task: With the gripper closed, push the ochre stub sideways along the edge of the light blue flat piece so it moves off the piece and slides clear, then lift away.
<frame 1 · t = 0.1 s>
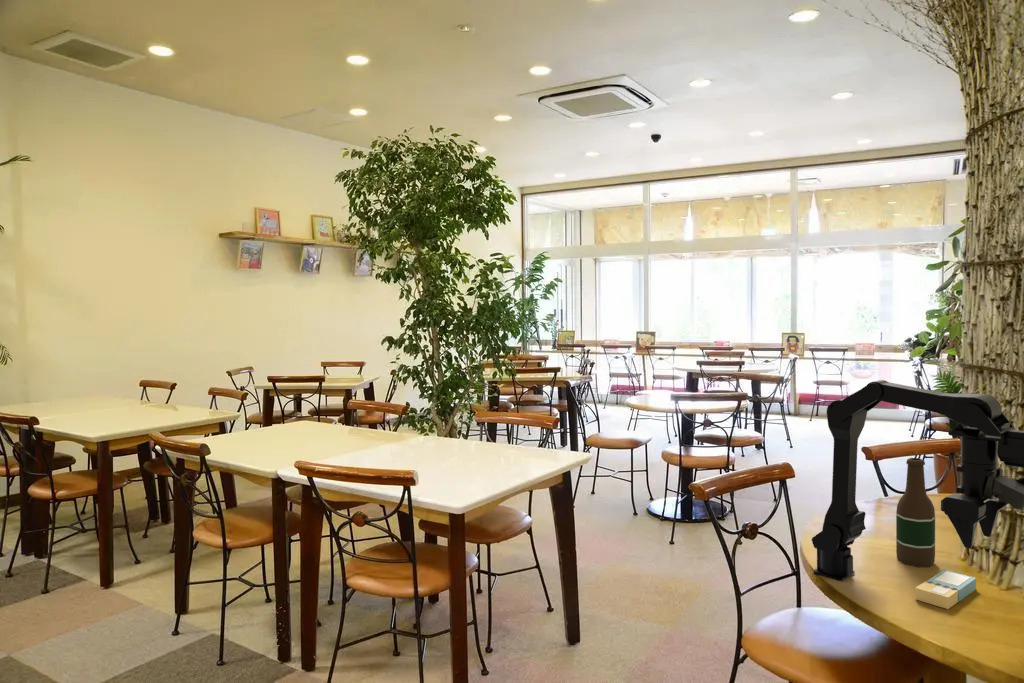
hand: (977, 541, 132), 15 cm above the table, fingers open, 9 cm apart
stub: (936, 594, 139), point 1 cm above the table, slide at 0.0 cm
beer bottle: (915, 562, 160), on the table
light blue flat piece: (951, 590, 144), on the table
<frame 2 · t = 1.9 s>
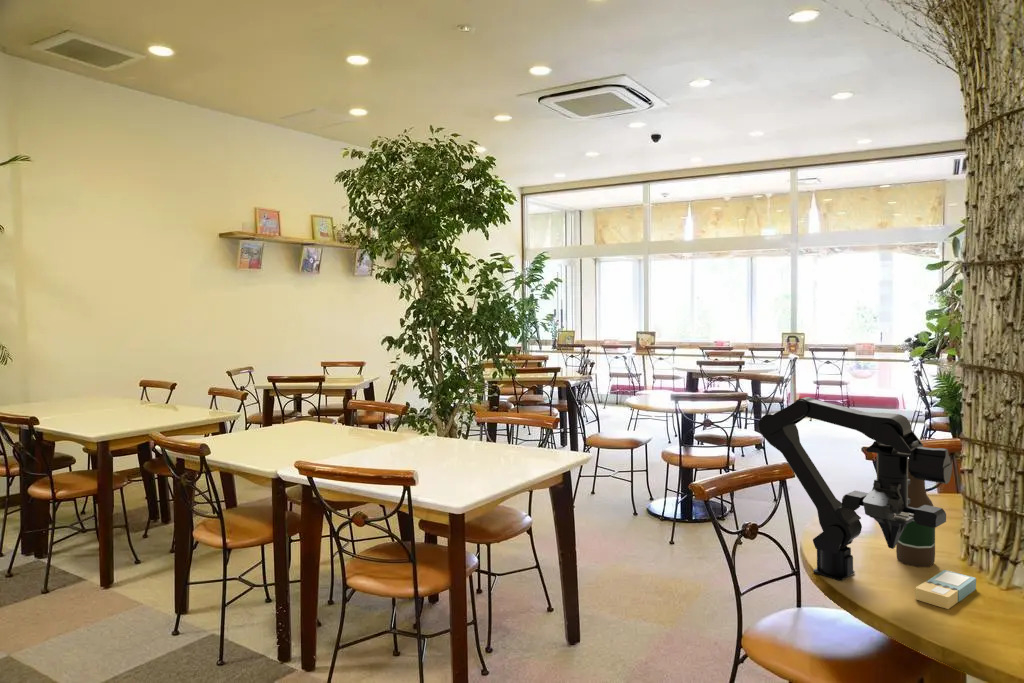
hand: (891, 548, 146), 9 cm above the table, fingers closed
nothing on the table moved.
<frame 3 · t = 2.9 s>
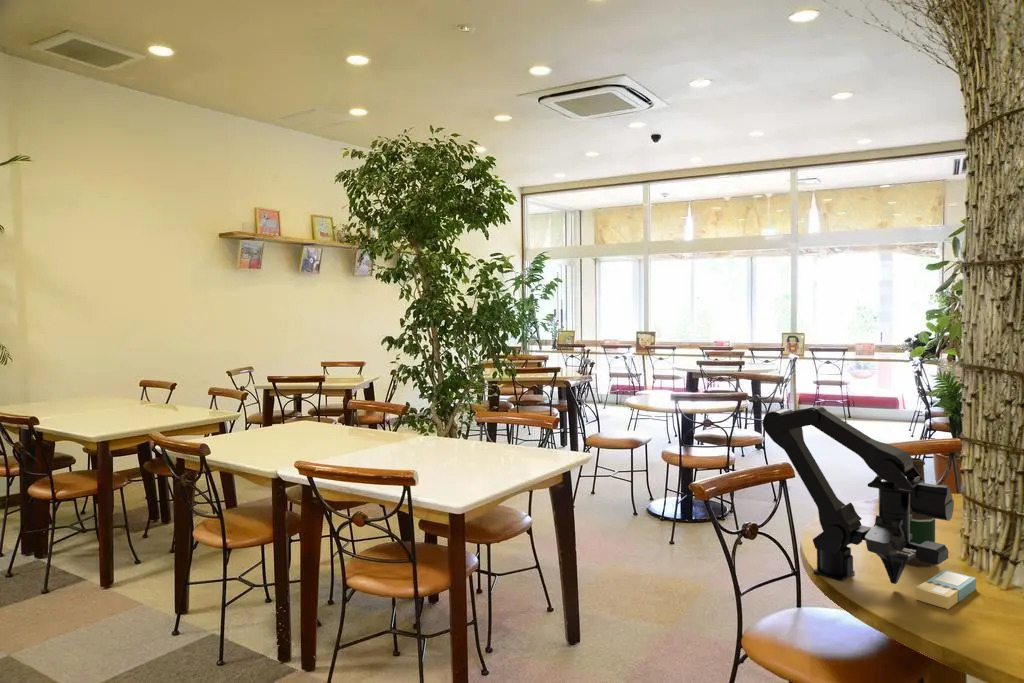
hand: (894, 583, 146), 1 cm above the table, fingers closed
nothing on the table moved.
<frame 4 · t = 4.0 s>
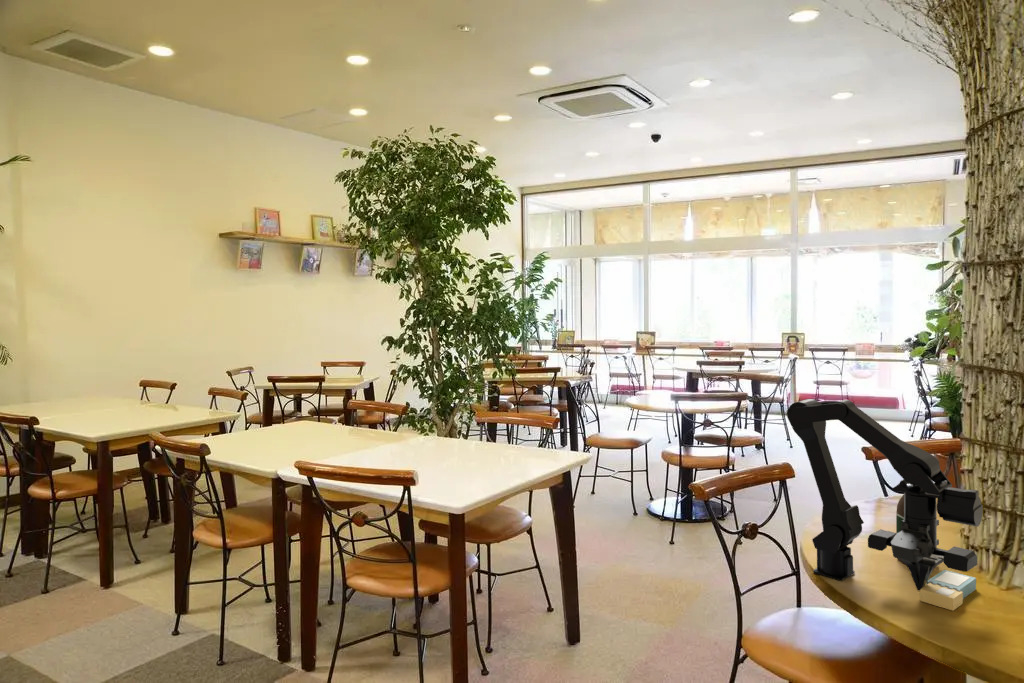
hand: (920, 590, 142), 1 cm above the table, fingers closed
stub: (941, 596, 139), point 1 cm above the table, slide at 0.9 cm, touching gripper
everything else where it was.
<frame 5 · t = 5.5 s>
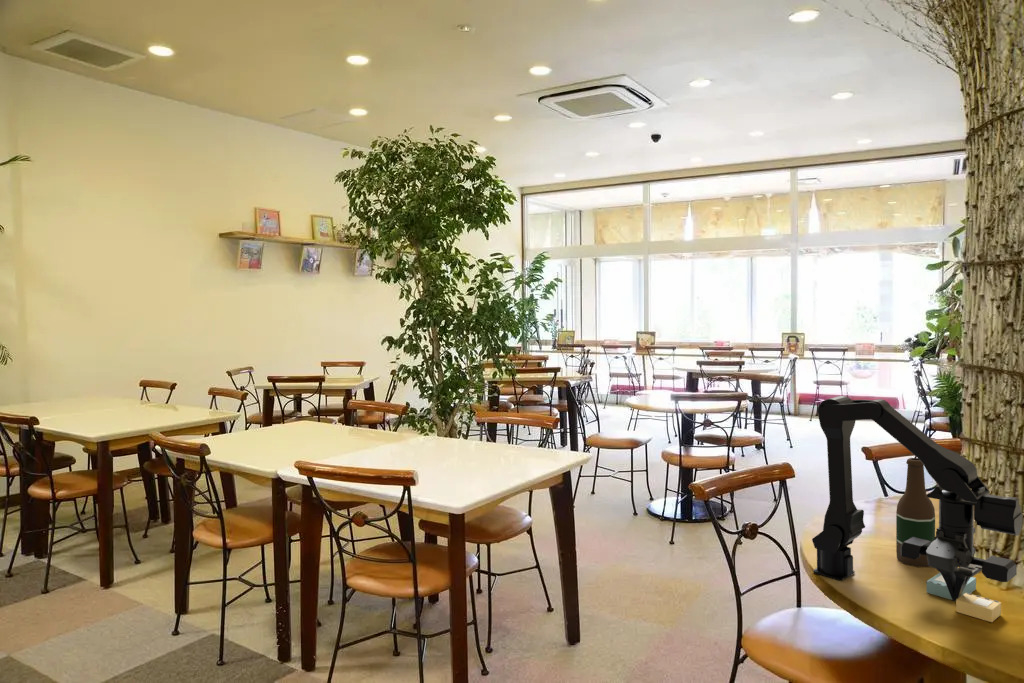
hand: (955, 600, 137), 1 cm above the table, fingers closed
stub: (978, 606, 133), point 1 cm above the table, slide at 7.4 cm, touching gripper
everything else where it was.
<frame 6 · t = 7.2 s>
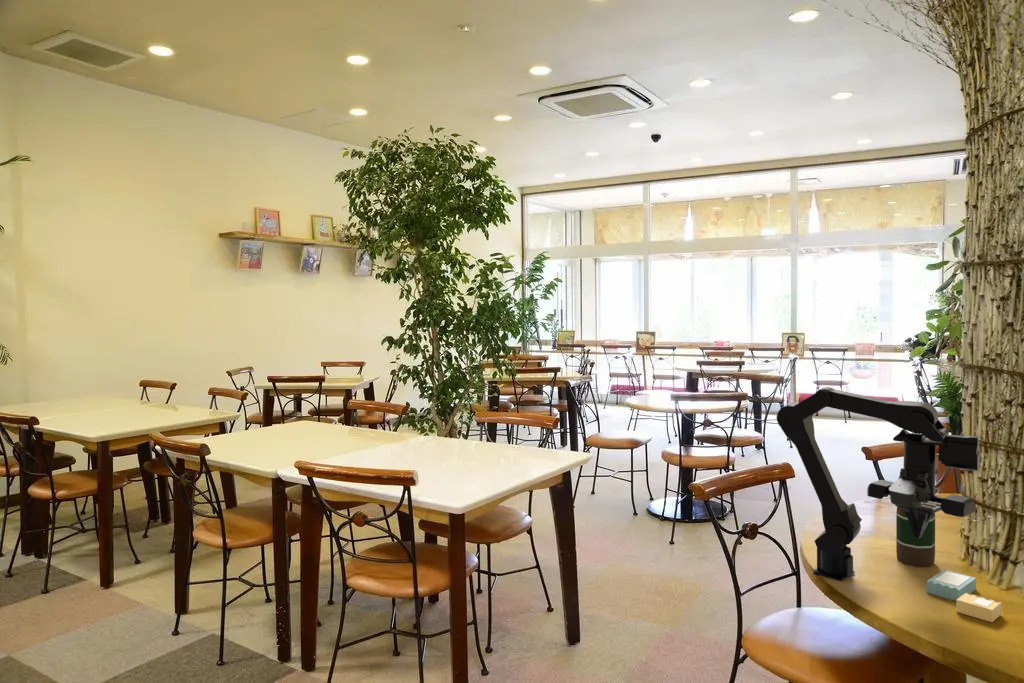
hand: (917, 537, 144), 11 cm above the table, fingers closed
stub: (978, 606, 133), point 1 cm above the table, slide at 7.4 cm
everything else where it was.
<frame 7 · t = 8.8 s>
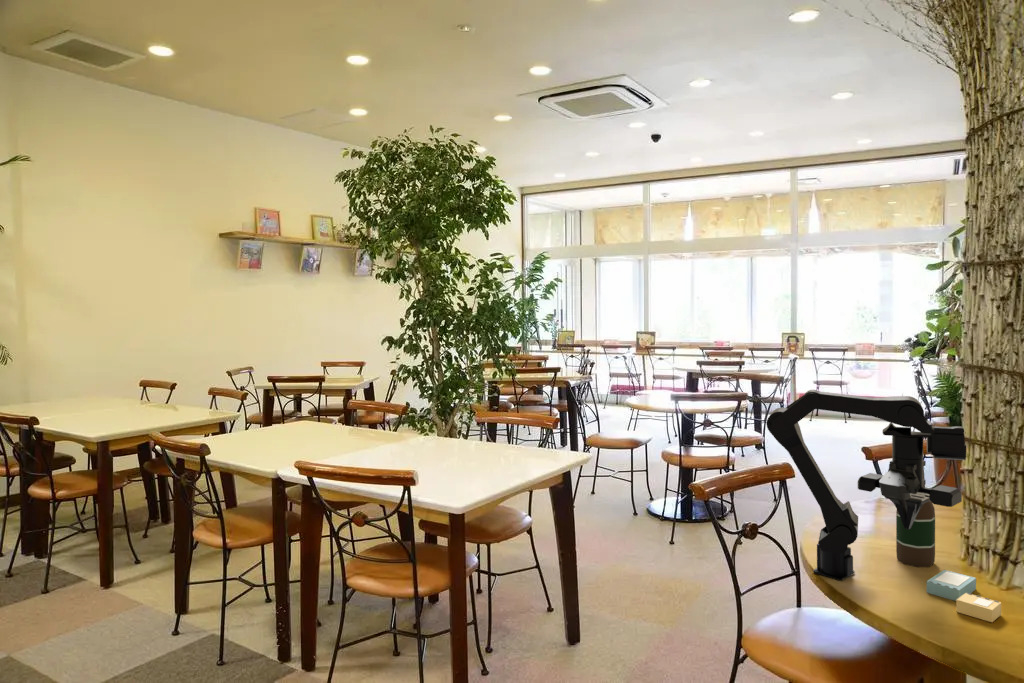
hand: (907, 528, 147), 12 cm above the table, fingers closed
nothing on the table moved.
at the end: stub slide at 7.4 cm; stub touching nothing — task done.
